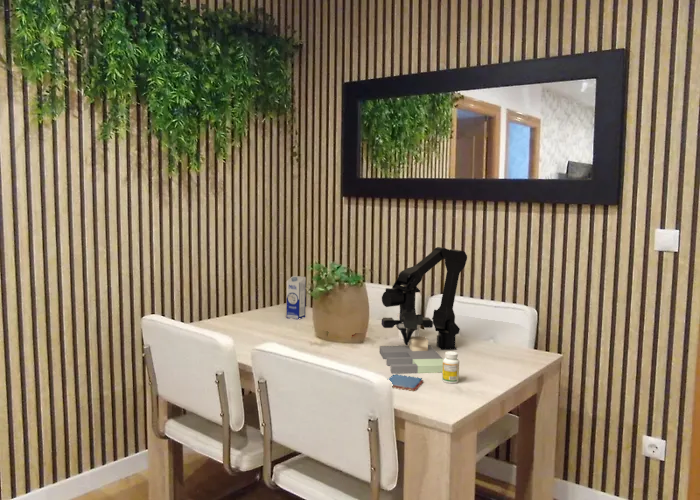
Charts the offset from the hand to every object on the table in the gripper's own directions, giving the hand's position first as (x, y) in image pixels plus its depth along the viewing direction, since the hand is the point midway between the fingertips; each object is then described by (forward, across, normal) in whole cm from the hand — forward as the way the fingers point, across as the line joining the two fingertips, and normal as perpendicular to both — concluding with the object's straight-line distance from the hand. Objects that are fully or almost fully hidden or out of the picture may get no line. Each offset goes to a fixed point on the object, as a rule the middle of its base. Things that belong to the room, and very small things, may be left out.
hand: (406, 344), depth 220 cm
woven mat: (+5, -7, -32) cm, 34 cm away
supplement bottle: (+4, +9, -30) cm, 32 cm away
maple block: (+2, +5, 0) cm, 5 cm away
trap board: (+4, 0, -8) cm, 9 cm away
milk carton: (+4, -41, +66) cm, 78 cm away
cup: (+4, +6, +26) cm, 27 cm away
